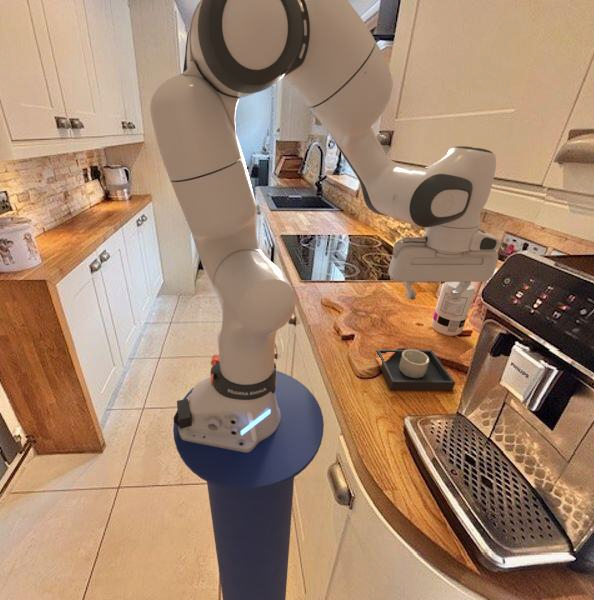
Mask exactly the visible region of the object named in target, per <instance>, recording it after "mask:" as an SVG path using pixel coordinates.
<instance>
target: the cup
mask: <svg viewBox="0 0 594 600" xmlns="http://www.w3.org/2000/svg"><path fill="white" fill-rule="evenodd" d="M403 350H404V351H403V352H402V356H401V360H400V364H399V369H400V371H401V372H402V373H403V374H404V375H406V376H408V377H411V378H421V377H423V376H424V375H425V374H426V371H427V367H428V364H429V357H428V356H427V355H426V354H425V353H423V352H421V351H418V350H419V349H414V348H408V349H403Z"/></svg>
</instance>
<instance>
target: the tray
mask: <svg viewBox="0 0 594 600" xmlns="http://www.w3.org/2000/svg"><path fill="white" fill-rule="evenodd" d="M404 350H405V349H376V352H377V354H378V355H379V357H380V358H381V360H382V364H383V365H382V367H379V369H380V371H381V373H382V375H383V378H384V380H385V382H386V384H387V386H388V388H389V390H390V391H422V392H423V391H424V392H425V391H426V392H427V391H432V392H433V391H434V392H435V391H436V392H453V390H454V387H455V384H456V381H455V380H454V379H453V377H452V376H451V375H450V373H449V371H448V370H447V369H446V367H445V366H444V365H443V363H442V362H441V361H440V360H439V358H438V357H437V355H436V354H435V353H434V351H433V350H432V349H417V350H418V351H421V352H423V353H425V354H426V355H427V356H428V357H429V364H428V367H427V371H426V374H425V375H424V376H423V377H421V378H411V377H408V376H406V375H404V374H403V373H402V372H401V371H400V369H399V364H400V360H401V356H402V352H403V351H404ZM376 352H375V353H376ZM386 352H395V353H396V356H393V357H392V358H391V359H390V360H388V361H387V362H386V363H385V361H384V359H383V357H382V355H381V353H386Z"/></svg>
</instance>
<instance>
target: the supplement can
mask: <svg viewBox="0 0 594 600" xmlns="http://www.w3.org/2000/svg"><path fill="white" fill-rule="evenodd" d="M458 284H459V282H443V284H442V285H441V288H440V292H439V294H438V298H437V302H436V305H435V309H434V313H433V316H432V319H431V323H430V325H431V327H432V328H433V330H434V331H435V332H437V333H439V334H441V335H445V336H451V337H452V336H457V335H460V334H462V332H463V329H464V326H465V324H466V320H467V318H468V315H469V312H470V309H471V306H472V304H473V301H474V298H475V295H476V288H475V285H474V284H473V283H471V284H470V286H469V287H468V288H467V289H466V290H465V291H464V292H463V293H462V294H461V297H460V299H451V298H450V297H449V294H450V290H451V289H455V288H456V287H457V286H458Z"/></svg>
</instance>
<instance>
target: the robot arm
mask: <svg viewBox="0 0 594 600" xmlns="http://www.w3.org/2000/svg"><path fill="white" fill-rule="evenodd" d="M193 11H194V12H193V13H192V17H191V19H190V24H189V29H188V31H187V36H186V41H185V51H184V52H185V53H184V62H183V70H182V73H180V74H178V75H174V76H172V77H170V78H168V79H166V80H165V81H163V82H162V83H161V84H160V85H159V86H158V87H157V89H155V91H154V93H152V96H151V98H150V102H149V103H150V104H149V112H150V117H151V122H152V128H153V131H154V135H155V139H156V143H157V146H158V150H159V154H160V157H161V160H162V163H163V165H164V168H165V171H166V174H167V176H168V179H169V181H170V184H171V186H172V189H173V191H174V194H175V196H176V199H177V201H178V203H179V206H180V209H181V211H182V213H183V216H184V218H185V221H186V224H187V226H188V229H189V231H190V234H191V237H192V239H193V242H194V246H195V248H196V249H195V250H196V252H197V254H198V258H199V259H200V262H201V265H202V269H203V270H204V273H205V277H206V278H207V281H208V283H209V285H210V286H211V287H212V289H213V291H214V293H215V294H216V296H217V299H218V302H219V304H220V308H221V314H222V321H221V327H220V328H221V329H220V330H219V331H218V333H217V347H218V350H217V351H218V354H213V355H212V356H211V361H210V365H211V368H210V374H209V375H207V376H205V377H203V378H201V379H199V380H198V381H197V382H196V383H195V385H194V386H193V387H192V388H193V390H192V393H191V394H190V395H189V396H188V397H187V399H184V398H183V399H179V400H176V405H177V406H176V408H177V409H178V412H177V411H176V412H177V413H176V412H175V414H174V416H173V424H174V423H175V424H176V425H178V430H179V435H180V437H181V439H182V440H184V441H189V442H194V443H199V444H204V445H209V446H214V447H219V448H224V449H229V450H235V451H240V452H245V453H248V452H250V451H252V450H253V449H254V448H255V446H256V445H257V444H258V443H259V442H260V441H262V440H263V439H265V438H267V437H269V436H270V435H271V434H272V433H273V432H274V431H275V430H276V429H277V427H278V425H279V423H280V419H281V413H280V409H279V407H278V404H277V400H276V395H275V389H276V384H277V371H278V369H277V364H276V361H275V355H276V354H275V352H276V350H275V349H276V336H277V332H278V331H279V330H280V329H282V328H283V327H285V326H286V325H287V324H288V322H289V321H290V320H291V318H292V316H293V315H294V312H295V310H296V306H297V298H296V297H297V296H296V294H295V290H294V289H293V287H292V285H291V283H290V281H289V280H288V277H287V276H286V274H285V273H284V271H283V270H281V269H280V268H279V267H278V266H277V265H276V264H275V263H273V261H271V260H270V259H269V258H268V257H267V256H266V255H265V253H264V252H263V250H262V248H261V246H260V244H259V240H258V236H257V227H256V226H257V225H256V216H257V213H258V205H257V201H256V198H255V194H254V190H253V187H252V183H251V179H250V175H249V172H248V169H247V165H246V161H245V157H244V154H243V151H242V147H241V144H240V141H239V137H238V135H237V125H236V112H237V106H238V104H239V101H240V99H242V98H245V97H249V96H252V95H254V94H256V93H260V92H263V91H265V90H267V89H269V88H271V87H273V86H274V85H275V84H277V83H278V82H279V81H281V80H283V81H285V82H286V83H288V84H289V85H290V86H291V87H292V88H293V89H295V90H296V92H297V93H298V95H299V96H300V98H301V99H302V101H303V102H304V103H305V105H306V106H307V107H308V109H309V110H310V111H311V112H312V114H313V115H314V116H315V118H316V119H317V120H318V121H319V122H320V125H322V126H323V128H324V129H325V130H326V131H327V132H328V134H329V136H330V137H331V138H332V141H333V142H334V144H335V146H336V147H337V149H338V151H339V152H340V153H341V156H342V157H343V158H344V159H345V161H346V162H347V164H348V166H349V167H350V169H351V171H352V172H353V173H354V175H355V177H356V178H357V179H358V182H359V184H360V187H361V192H362V196H363V200H364V203H365V205H366V207H367V208H368V210H369V211H371V212H372V213H375V214H377V215H382V216H384V217H385V216H386V217H389V218H392V219H394V220H397V221H400V222H403V223H406V224H409V225H412V226H414V227H419V228H425V230H424V233H423V234H424V235H423V236H412V237H411V236H404V237H402V238H400V239H398V240H396V242H394V244H393V248H392V256H391V259H390V262H389V266H388V270H387V274H388V275H389V277H390V278H391V279H392V280H393V281H394V282H396V283H403V285H404V287H405V289H406V290H405V298H406V299H407V300H416V296H417V291H416V290H415V289H414V288H412V287H413V286H414V284H415V283H445V282H459V284H458V286H457V287H456V288H455V289H451V290H450V294H449V297H450V298H451V299H460V297H461V294H462V293H463V292H464V291H465V290H466V289H467V288H468V287H469V286H470V284H472V283H487V282H488V281H489V280H490V279H492V278H493V276H494V273H495V271H496V268H497V265H498V261H499V252H498V250H499V249H500V248H501V247H502V244H503V240H502V239H500V238H499V237H497V236H495V235H493V234H491V233H489V232H487V231H484V230H483V229H480V225H481V214H482V211H483V209H484V207H485V206H486V204H487V202H488V201H489V197H490V193H491V190H492V186H493V183H494V179H495V174H496V167H497V156H496V154H495V153H494V152H493V151H492V150H489V149H486V148H481V147H473V146H464V145H458V146H452V147H450V148H449V150H448V151H447V153H446V155H445V156H443V157H442V158H440V159H439V160H438V161H435V162H434V163H432V164H430V165H428V166H425V167H423V168H422V167H415V166H409V165H404V164H401V163H398V162H396V161H393V160H392V159H391V158H389V157H388V155H387V154H386V152H385V150H384V147H383V146H382V144H381V142H380V140H379V139H378V137H377V135H376V133H375V131H374V129H373V126H374V125H375V124H376V123H377V122H378V120H379V119H380V118H381V117H382V116H383V114H384V113H385V111H386V109H387V107H388V106H389V103H390V101H391V100H390V99H391V97H392V92H393V87H394V81H393V76H392V73H391V68H390V66H389V64H388V62H387V59H386V57H385V55H384V54H383V53H384V52H383V51H382V49H381V48H380V46H379V44H378V43H377V41H376V40H375V38H374V36H373V34H372V33H371V31H370V29H369V28H368V26H367V25H366V23H365V22H364V20H363V19H362V17H361V16H360V14H359V13H358V12H357V10H356V8H354V6H353V5H352V4H351V2H349V1H348V0H200V1H199V2H198V4H196V7H195V9H194V10H193ZM178 419H179V421H178ZM240 444H243V445H240Z"/></svg>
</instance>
